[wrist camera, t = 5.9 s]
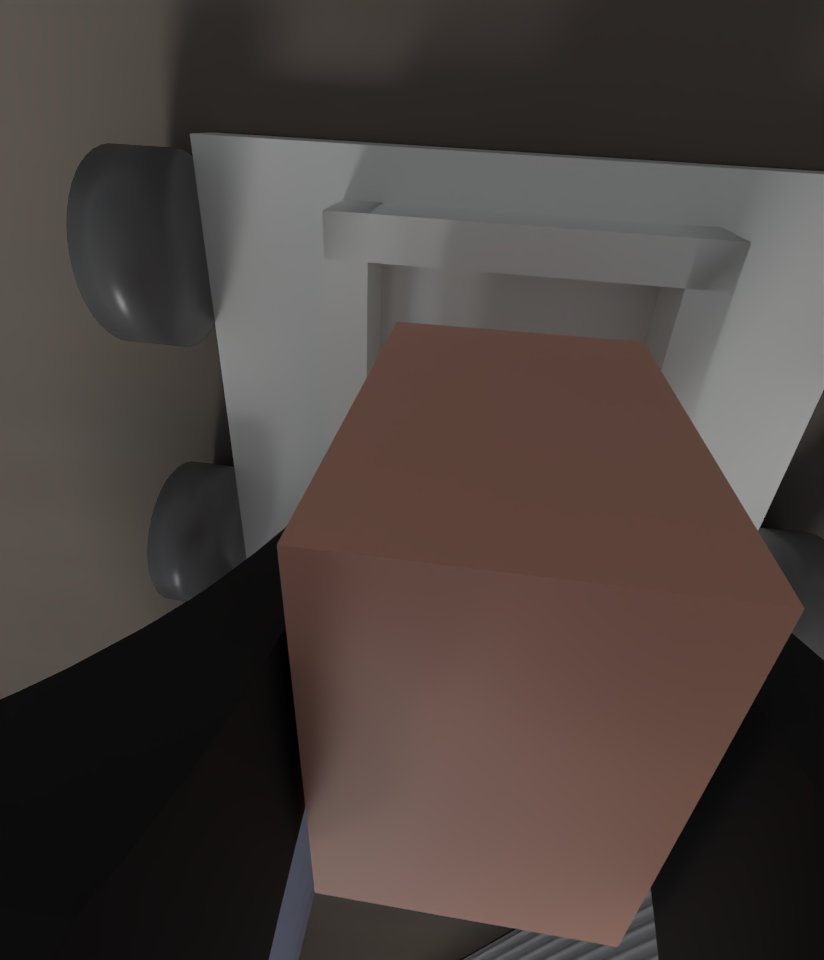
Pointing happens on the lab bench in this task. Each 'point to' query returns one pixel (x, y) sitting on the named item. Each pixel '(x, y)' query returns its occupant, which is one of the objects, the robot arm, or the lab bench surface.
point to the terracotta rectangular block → (518, 630)
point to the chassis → (448, 301)
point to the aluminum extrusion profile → (577, 943)
